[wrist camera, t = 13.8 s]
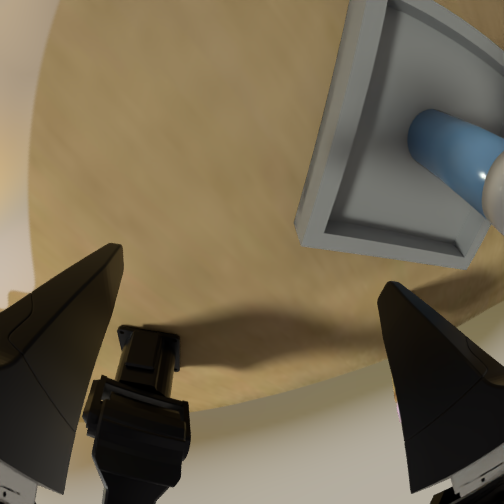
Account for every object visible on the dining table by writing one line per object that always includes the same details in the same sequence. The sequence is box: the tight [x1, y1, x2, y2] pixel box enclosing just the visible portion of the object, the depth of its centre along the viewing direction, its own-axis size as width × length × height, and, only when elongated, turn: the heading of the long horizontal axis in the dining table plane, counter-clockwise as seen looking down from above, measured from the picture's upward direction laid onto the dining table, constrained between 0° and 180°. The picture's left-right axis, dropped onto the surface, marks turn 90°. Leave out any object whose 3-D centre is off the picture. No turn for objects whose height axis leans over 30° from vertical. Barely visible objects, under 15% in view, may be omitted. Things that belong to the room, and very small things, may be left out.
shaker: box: [407, 109, 504, 235], centre depth 13 cm, size 4×4×9 cm
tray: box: [294, 0, 504, 270], centre depth 17 cm, size 18×16×3 cm
